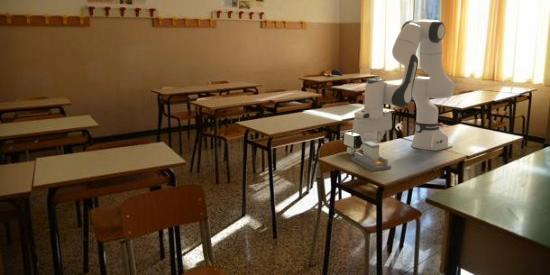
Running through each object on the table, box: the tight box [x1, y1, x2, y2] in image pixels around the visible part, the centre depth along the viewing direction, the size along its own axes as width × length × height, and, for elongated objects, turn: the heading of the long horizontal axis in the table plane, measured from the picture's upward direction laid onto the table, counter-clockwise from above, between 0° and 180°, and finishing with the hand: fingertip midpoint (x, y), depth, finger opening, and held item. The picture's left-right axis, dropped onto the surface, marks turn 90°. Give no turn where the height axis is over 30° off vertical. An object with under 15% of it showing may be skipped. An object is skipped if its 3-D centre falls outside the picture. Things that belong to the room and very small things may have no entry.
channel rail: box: [350, 151, 392, 172], centre depth 203 cm, size 11×18×4 cm, turn 20°
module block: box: [363, 141, 380, 161], centre depth 202 cm, size 4×7×8 cm, turn 20°
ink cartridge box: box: [360, 131, 378, 151], centre depth 226 cm, size 9×5×15 cm, turn 74°
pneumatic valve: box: [341, 131, 363, 155], centre depth 220 cm, size 6×12×12 cm, turn 31°
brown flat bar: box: [375, 160, 384, 166], centre depth 203 cm, size 5×14×1 cm, turn 20°
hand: (372, 140), depth 201 cm, fingers open, 8 cm apart
